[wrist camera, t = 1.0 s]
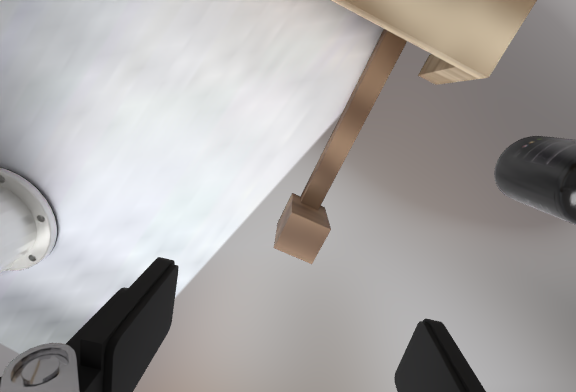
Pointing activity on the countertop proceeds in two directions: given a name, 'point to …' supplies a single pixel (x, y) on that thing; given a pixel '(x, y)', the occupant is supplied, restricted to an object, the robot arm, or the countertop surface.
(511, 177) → the supplement bottle
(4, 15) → the countertop surface
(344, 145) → the crook
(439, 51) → the low bench
